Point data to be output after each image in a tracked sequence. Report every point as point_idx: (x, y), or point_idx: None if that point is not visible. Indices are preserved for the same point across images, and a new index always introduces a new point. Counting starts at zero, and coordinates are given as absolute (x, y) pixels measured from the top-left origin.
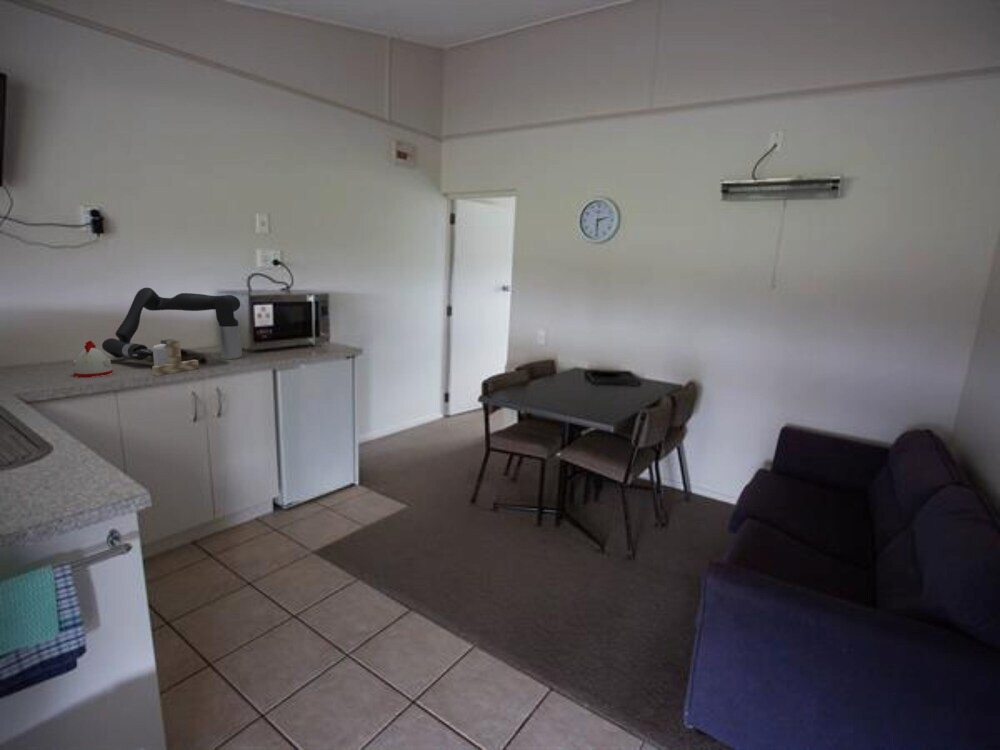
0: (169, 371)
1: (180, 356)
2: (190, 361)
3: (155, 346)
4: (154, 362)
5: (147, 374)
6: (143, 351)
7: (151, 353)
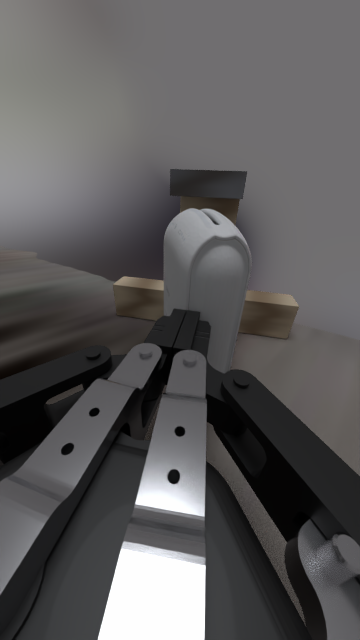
0: None
1: None
2: (151, 280)
3: (241, 234)
4: (232, 352)
5: (298, 360)
6: (189, 503)
7: (206, 346)
